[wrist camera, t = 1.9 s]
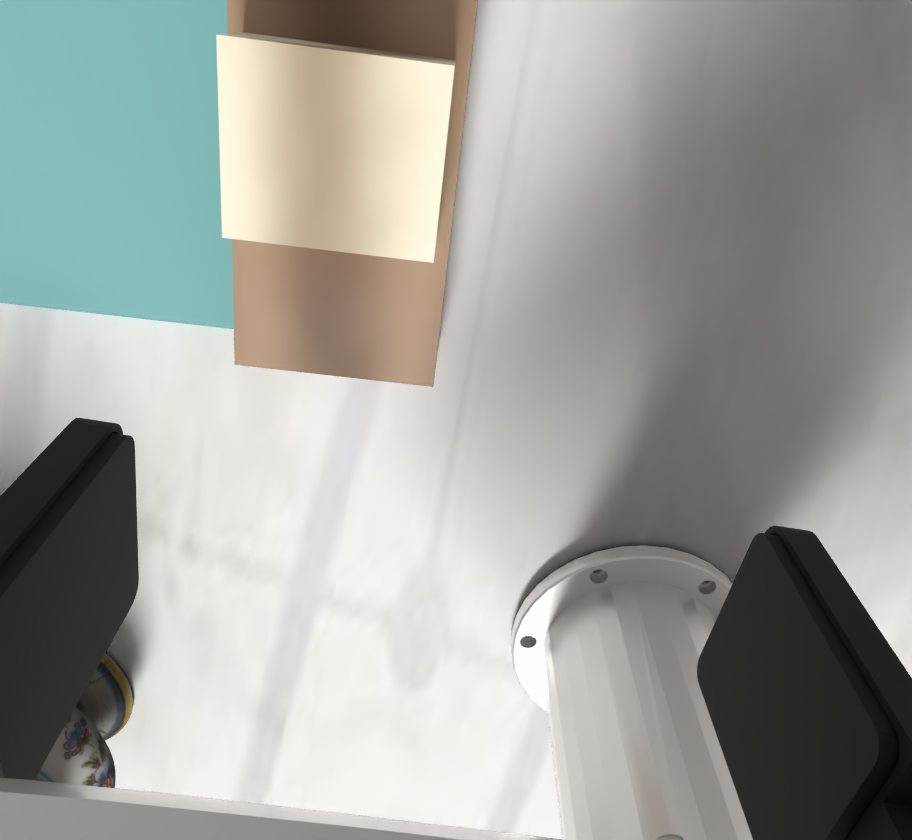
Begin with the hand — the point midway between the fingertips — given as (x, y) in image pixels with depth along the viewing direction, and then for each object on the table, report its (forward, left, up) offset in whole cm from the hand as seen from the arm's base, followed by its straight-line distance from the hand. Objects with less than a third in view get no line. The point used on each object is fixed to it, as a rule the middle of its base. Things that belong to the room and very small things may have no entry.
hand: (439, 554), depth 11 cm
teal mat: (+15, -1, -22) cm, 26 cm away
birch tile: (+4, -3, -19) cm, 19 cm away
